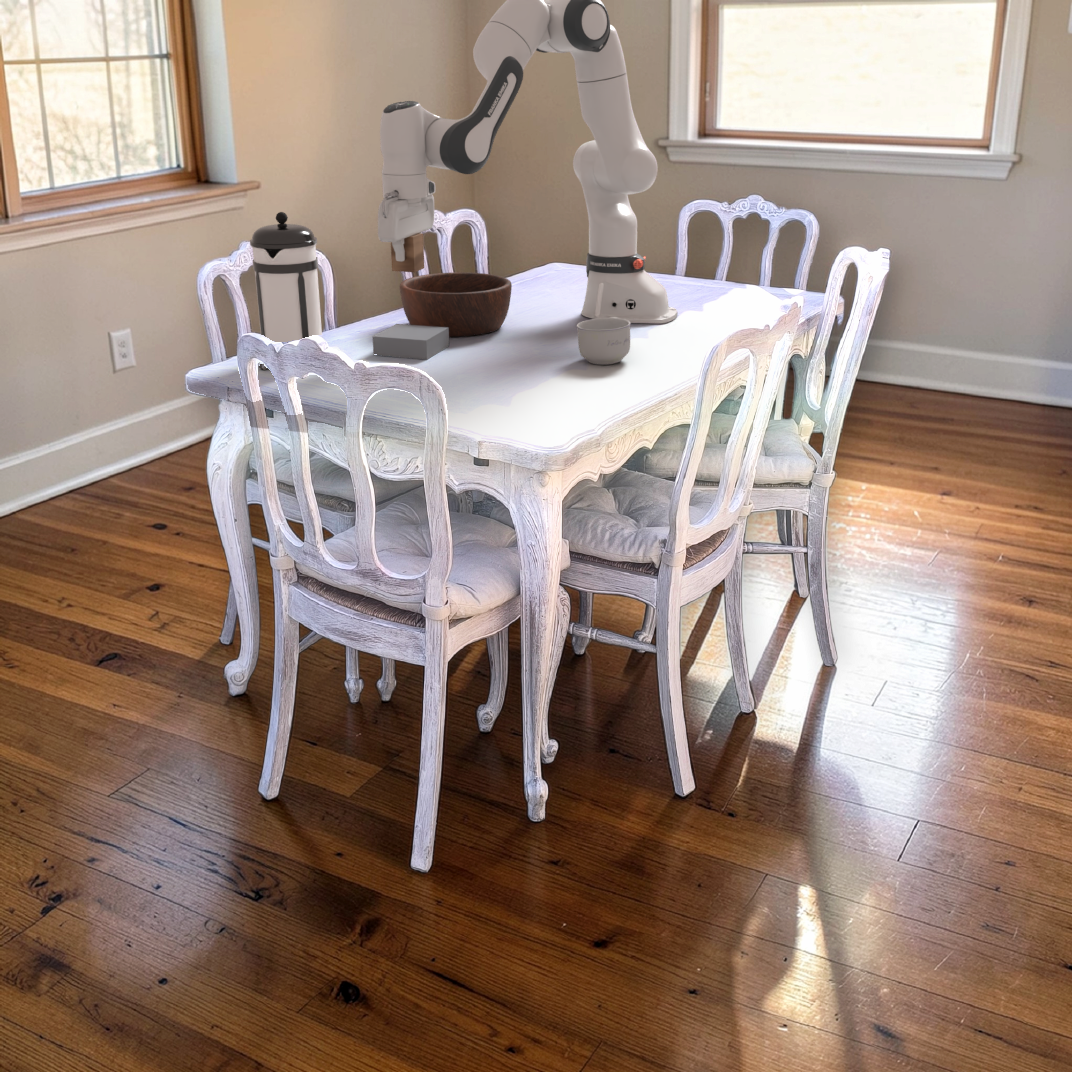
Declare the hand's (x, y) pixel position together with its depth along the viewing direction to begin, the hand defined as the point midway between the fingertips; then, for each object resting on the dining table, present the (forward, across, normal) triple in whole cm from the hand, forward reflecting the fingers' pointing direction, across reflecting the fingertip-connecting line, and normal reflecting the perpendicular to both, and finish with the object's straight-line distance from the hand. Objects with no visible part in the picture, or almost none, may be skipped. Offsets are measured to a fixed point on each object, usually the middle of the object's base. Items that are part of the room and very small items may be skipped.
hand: (407, 258), depth 247 cm
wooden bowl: (+20, +23, -1) cm, 30 cm away
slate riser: (+19, 0, 0) cm, 19 cm away
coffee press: (+20, -16, +19) cm, 32 cm away
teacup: (+19, +5, -41) cm, 46 cm away
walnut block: (+2, 0, 0) cm, 2 cm away
